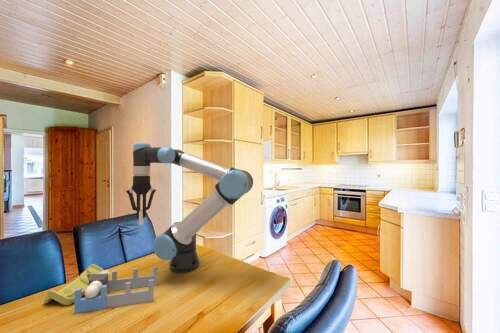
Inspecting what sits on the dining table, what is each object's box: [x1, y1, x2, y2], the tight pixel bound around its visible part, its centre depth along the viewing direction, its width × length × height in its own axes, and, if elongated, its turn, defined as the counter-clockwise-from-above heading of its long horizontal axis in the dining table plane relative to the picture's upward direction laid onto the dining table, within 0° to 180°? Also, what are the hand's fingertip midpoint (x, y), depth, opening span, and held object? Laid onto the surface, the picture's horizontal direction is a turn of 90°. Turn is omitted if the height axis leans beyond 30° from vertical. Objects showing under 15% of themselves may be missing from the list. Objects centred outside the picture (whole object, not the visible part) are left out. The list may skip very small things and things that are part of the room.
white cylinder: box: [84, 269, 111, 298], centre depth 85 cm, size 16×5×5 cm, turn 16°
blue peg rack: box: [73, 265, 159, 314], centre depth 87 cm, size 26×13×8 cm, turn 106°
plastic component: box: [43, 263, 104, 306], centre depth 91 cm, size 20×7×10 cm
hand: (141, 224), depth 105 cm, fingers closed
